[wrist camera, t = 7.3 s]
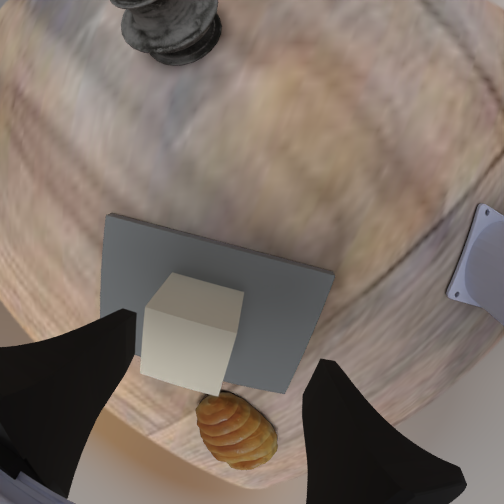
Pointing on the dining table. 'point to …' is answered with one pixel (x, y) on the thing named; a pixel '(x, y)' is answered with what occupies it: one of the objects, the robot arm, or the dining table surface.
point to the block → (190, 333)
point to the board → (227, 275)
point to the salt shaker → (171, 28)
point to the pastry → (235, 431)
